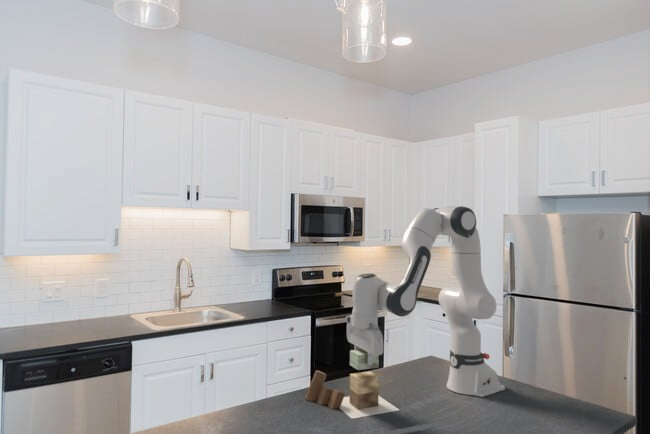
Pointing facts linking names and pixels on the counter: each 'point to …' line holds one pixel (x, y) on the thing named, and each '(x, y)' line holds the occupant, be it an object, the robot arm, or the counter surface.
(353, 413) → the baseplate
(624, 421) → the counter surface
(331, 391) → the wooden block set
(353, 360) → the sage brick
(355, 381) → the oak brick
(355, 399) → the walnut base brick
